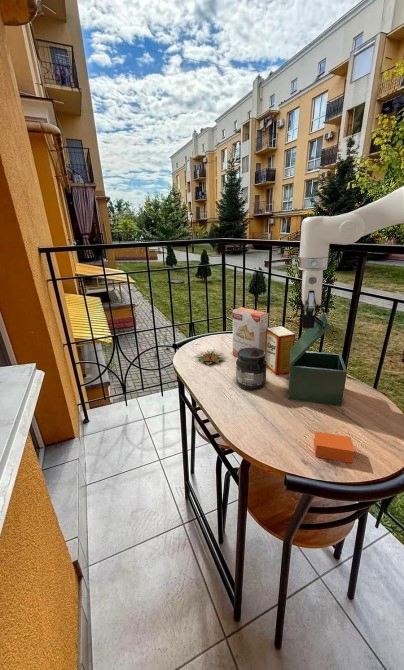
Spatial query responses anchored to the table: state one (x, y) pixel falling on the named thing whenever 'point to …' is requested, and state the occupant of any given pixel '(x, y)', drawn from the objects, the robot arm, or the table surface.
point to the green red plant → (210, 358)
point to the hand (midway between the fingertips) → (307, 324)
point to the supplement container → (251, 368)
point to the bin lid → (309, 337)
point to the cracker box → (249, 329)
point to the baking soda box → (278, 349)
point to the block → (333, 447)
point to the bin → (318, 379)
